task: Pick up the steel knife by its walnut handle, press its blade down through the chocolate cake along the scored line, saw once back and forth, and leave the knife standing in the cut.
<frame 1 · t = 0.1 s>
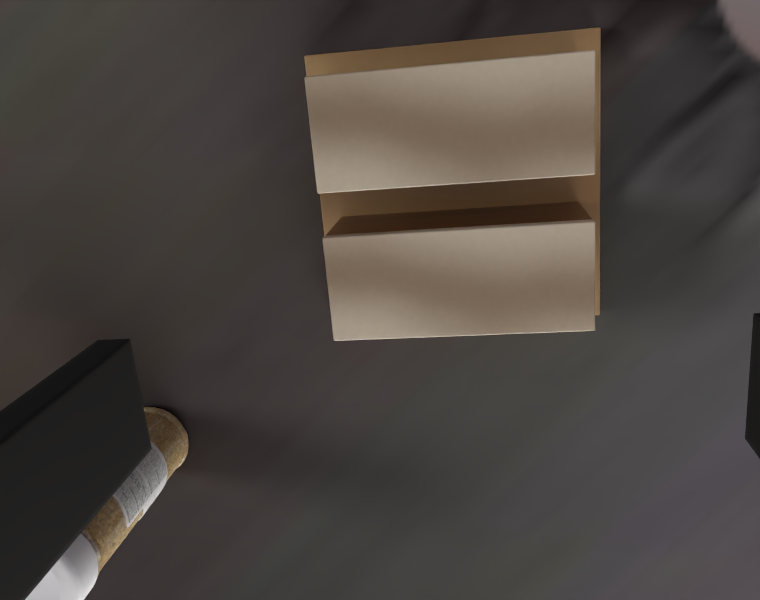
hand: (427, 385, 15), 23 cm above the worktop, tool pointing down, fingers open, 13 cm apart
sprinkles bottle: (157, 435, 44), on the worktop
cake: (456, 186, 37), on the worktop
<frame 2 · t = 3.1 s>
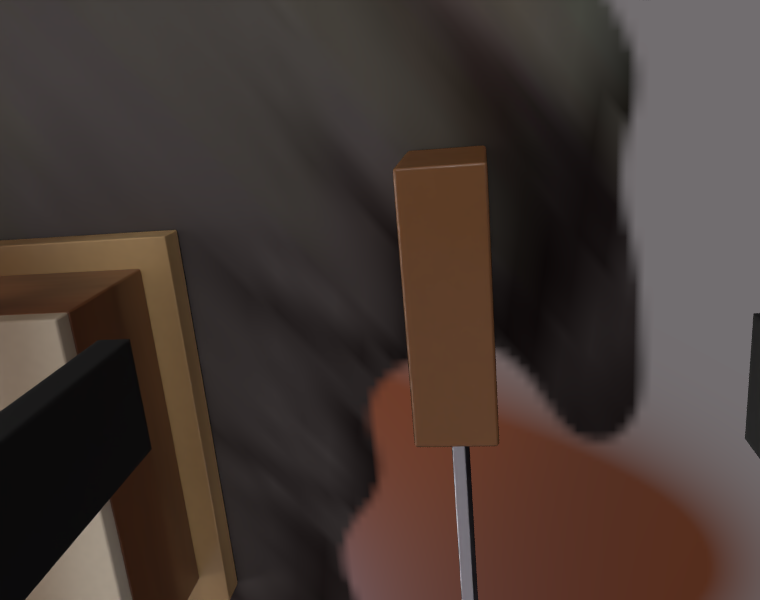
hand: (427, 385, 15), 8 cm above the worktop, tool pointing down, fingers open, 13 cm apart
knife: (453, 274, 23), on the worktop
cake: (31, 423, 27), on the worktop
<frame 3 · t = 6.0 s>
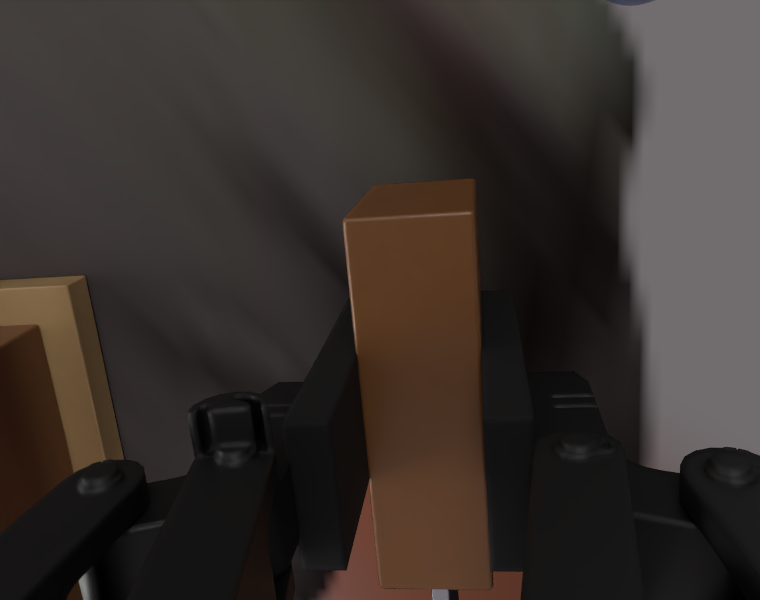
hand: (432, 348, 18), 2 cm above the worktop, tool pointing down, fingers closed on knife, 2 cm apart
knife: (434, 344, 18), point 1 cm above the worktop, touching gripper
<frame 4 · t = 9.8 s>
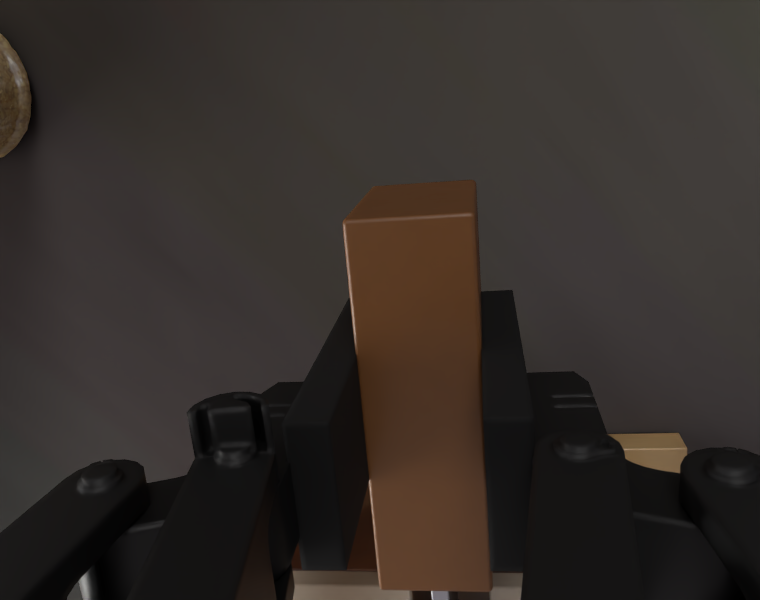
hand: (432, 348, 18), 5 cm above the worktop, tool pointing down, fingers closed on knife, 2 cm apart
knife: (434, 345, 18), point 5 cm above the worktop, touching gripper
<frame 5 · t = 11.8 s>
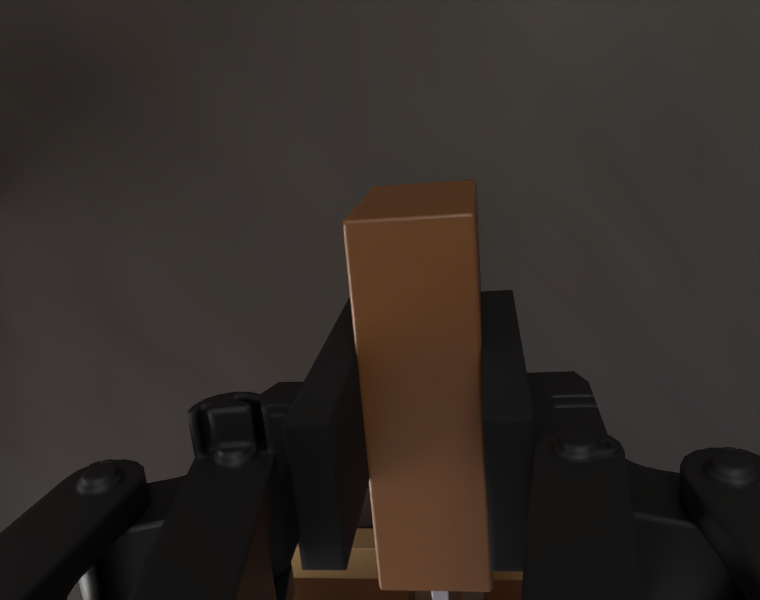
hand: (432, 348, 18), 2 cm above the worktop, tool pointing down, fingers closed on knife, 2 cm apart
knife: (434, 345, 18), point 2 cm above the worktop, touching gripper
when the fingers open (1 cm above the worktop, at t = 13.6 s): knife stays where it is, resting on cake.
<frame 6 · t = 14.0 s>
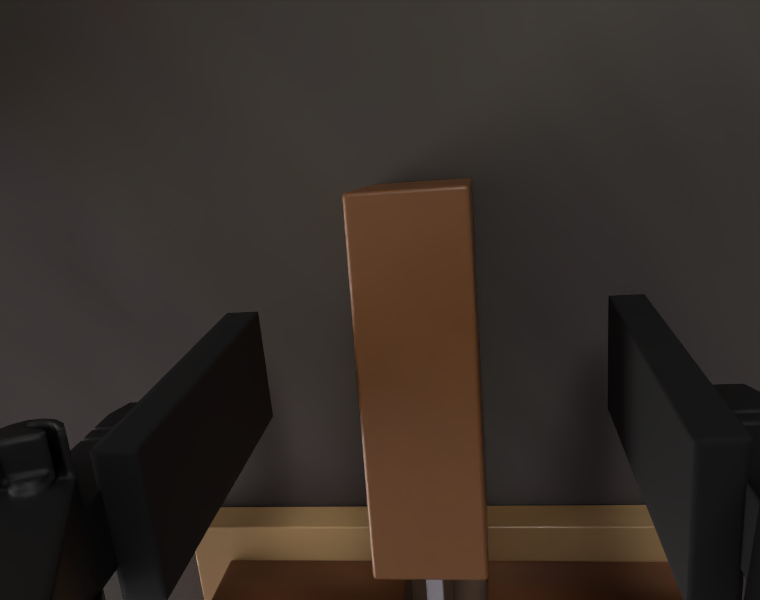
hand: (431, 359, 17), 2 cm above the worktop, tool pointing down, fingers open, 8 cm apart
knife: (430, 343, 18), on the worktop, tilted 6°, touching cake
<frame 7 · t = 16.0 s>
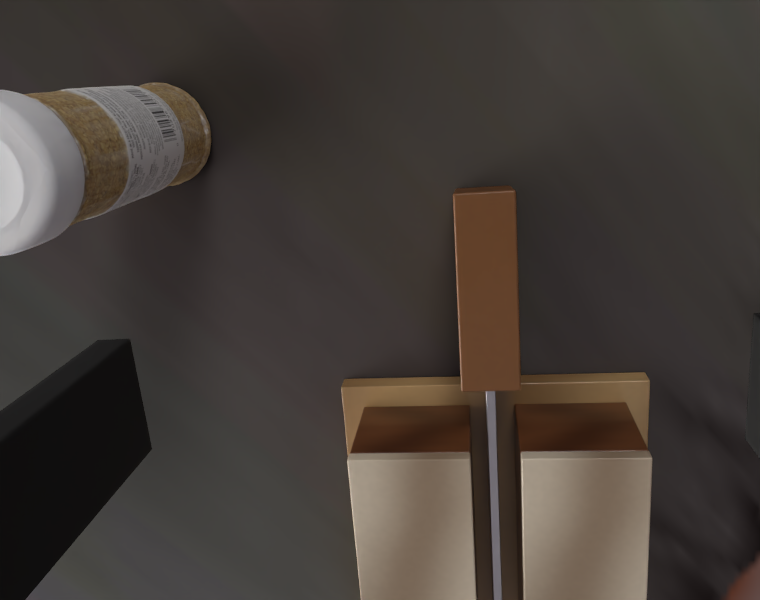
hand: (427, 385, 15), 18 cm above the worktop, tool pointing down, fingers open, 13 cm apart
knife: (485, 277, 32), on the worktop, tilted 6°, touching cake
sprinkles bottle: (168, 134, 33), on the worktop
cake: (494, 504, 36), on the worktop
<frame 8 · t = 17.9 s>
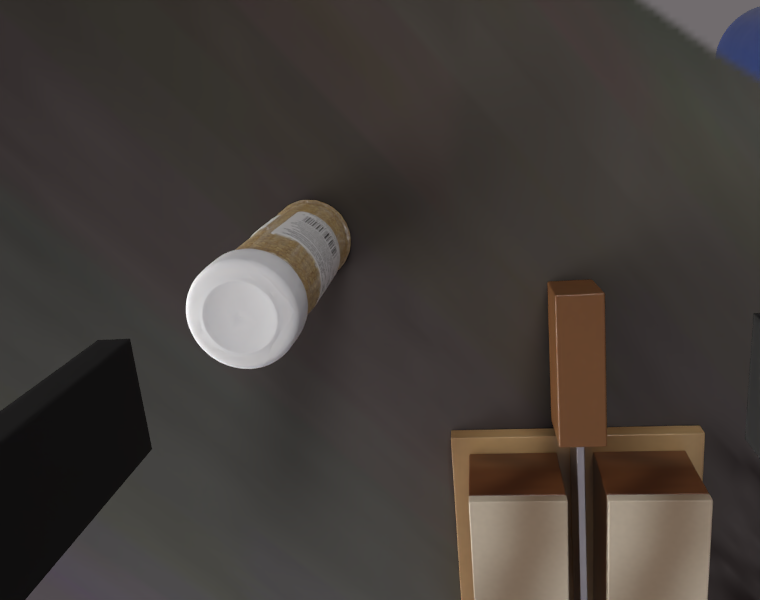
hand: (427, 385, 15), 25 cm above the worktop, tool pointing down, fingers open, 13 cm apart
knife: (571, 351, 40), on the worktop, tilted 6°, touching cake
sprinkles bottle: (313, 238, 41), on the worktop
cake: (573, 531, 44), on the worktop
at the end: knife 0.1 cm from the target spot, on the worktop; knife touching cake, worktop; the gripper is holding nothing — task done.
